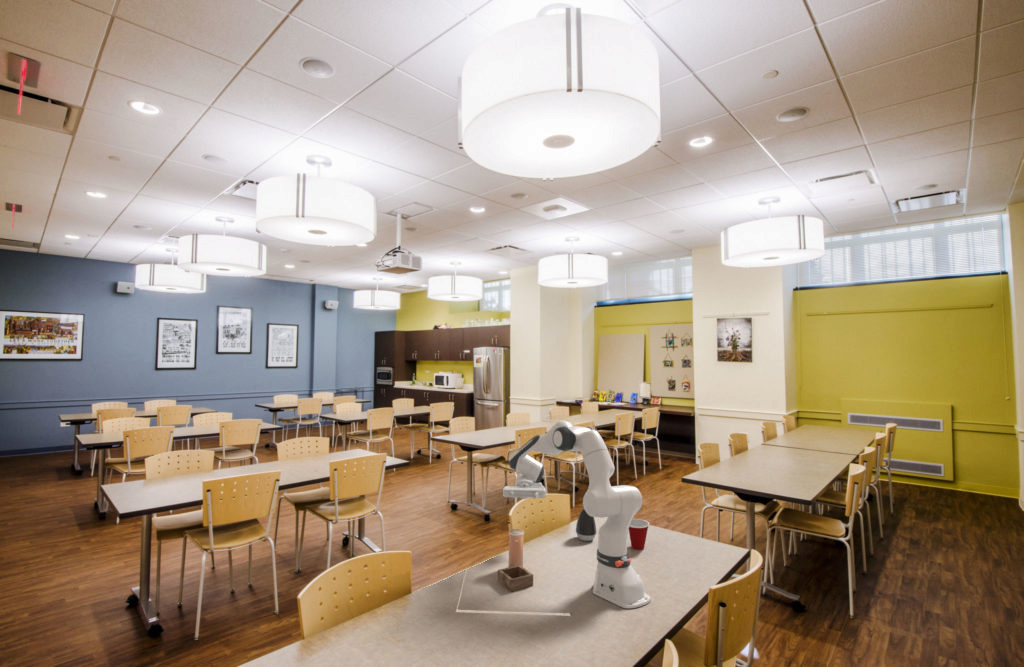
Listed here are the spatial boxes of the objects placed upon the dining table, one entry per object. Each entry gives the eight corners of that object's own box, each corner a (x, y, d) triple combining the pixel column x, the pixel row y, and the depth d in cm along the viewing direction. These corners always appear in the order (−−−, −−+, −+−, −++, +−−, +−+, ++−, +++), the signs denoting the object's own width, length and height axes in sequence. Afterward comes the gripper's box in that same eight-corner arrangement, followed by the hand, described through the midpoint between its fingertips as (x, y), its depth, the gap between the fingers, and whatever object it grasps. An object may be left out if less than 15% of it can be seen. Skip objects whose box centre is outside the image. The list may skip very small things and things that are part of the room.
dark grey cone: (595, 536, 240) (595, 505, 241) (597, 543, 230) (597, 511, 231) (575, 534, 241) (575, 504, 242) (575, 542, 231) (576, 510, 232)
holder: (533, 587, 183) (533, 574, 183) (510, 593, 178) (511, 580, 178) (519, 577, 192) (519, 564, 192) (497, 583, 186) (498, 569, 187)
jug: (508, 567, 201) (509, 528, 202) (522, 567, 201) (523, 529, 202) (507, 576, 192) (508, 536, 193) (522, 577, 192) (523, 536, 193)
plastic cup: (621, 545, 229) (621, 519, 230) (638, 542, 234) (639, 517, 234) (635, 553, 219) (636, 527, 220) (654, 550, 224) (654, 524, 224)
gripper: (502, 481, 229) (501, 489, 216) (544, 482, 229) (546, 489, 215) (502, 494, 229) (501, 503, 215) (544, 495, 229) (546, 504, 215)
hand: (524, 496), depth 215 cm, fingers open, 8 cm apart
